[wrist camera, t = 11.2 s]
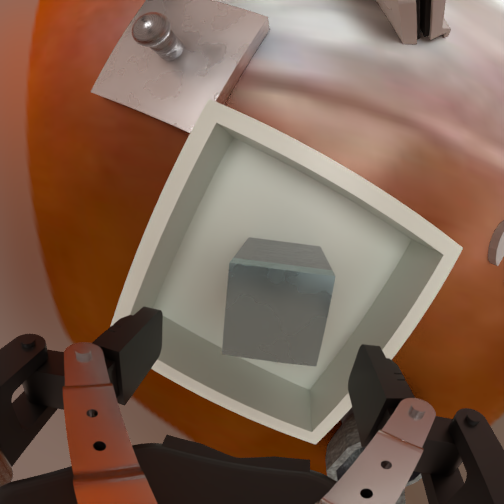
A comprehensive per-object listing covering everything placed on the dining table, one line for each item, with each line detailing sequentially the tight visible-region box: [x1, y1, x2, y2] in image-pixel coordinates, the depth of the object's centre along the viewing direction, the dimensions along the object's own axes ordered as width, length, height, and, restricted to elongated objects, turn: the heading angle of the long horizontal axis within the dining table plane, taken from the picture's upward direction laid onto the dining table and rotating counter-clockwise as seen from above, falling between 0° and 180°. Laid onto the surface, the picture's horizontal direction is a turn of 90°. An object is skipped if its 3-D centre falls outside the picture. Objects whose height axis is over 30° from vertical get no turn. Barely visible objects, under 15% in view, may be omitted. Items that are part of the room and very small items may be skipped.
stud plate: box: [91, 0, 270, 133], centre depth 16 cm, size 10×10×7 cm
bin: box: [110, 99, 463, 444], centre depth 19 cm, size 16×16×6 cm
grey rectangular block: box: [222, 237, 335, 366], centre depth 18 cm, size 5×5×7 cm
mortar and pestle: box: [326, 408, 422, 504], centre depth 18 cm, size 11×9×12 cm
